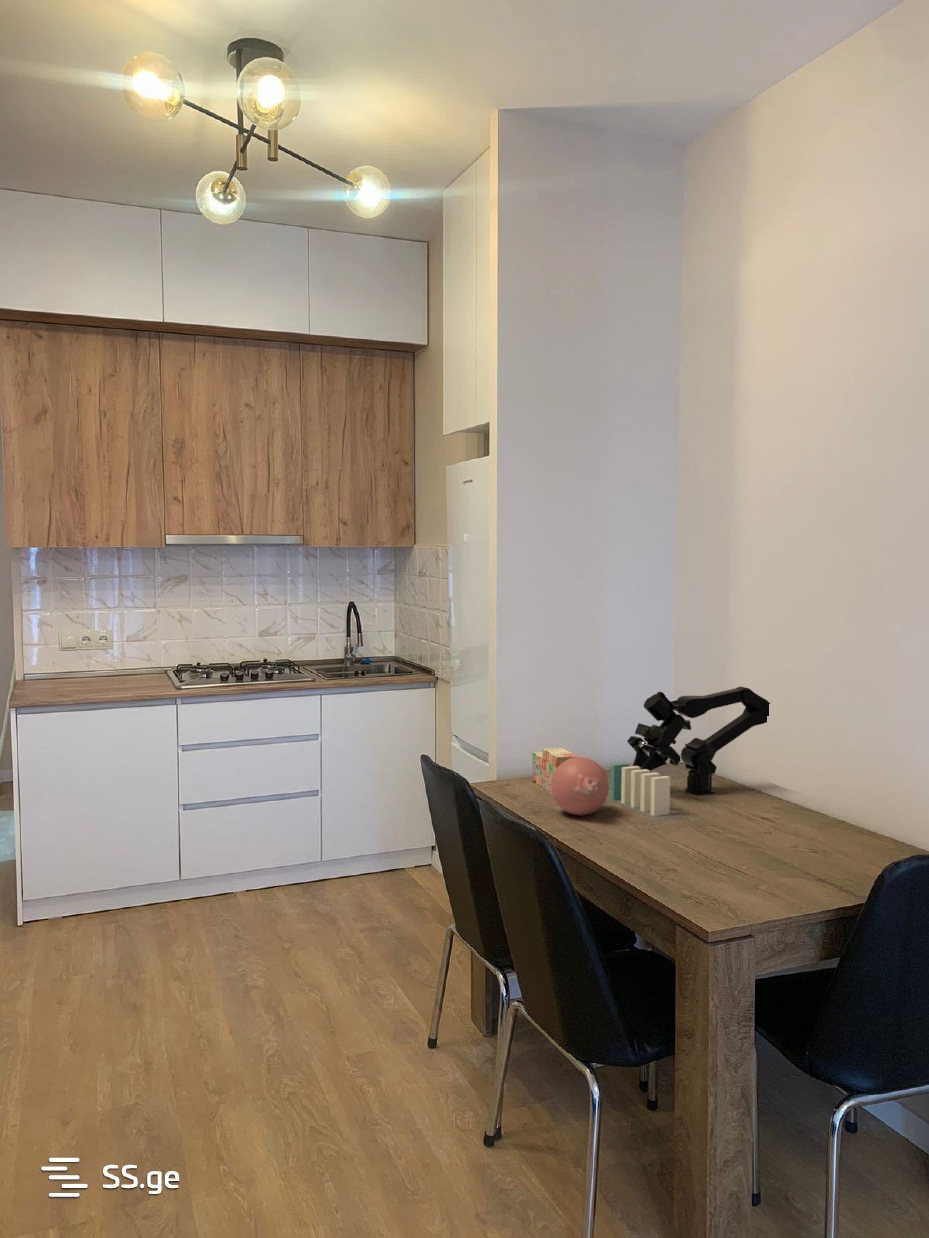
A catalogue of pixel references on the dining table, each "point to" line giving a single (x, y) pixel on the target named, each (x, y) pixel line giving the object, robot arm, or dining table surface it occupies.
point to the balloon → (580, 786)
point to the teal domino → (616, 780)
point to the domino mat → (660, 817)
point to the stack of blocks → (548, 764)
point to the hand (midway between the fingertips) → (636, 772)
